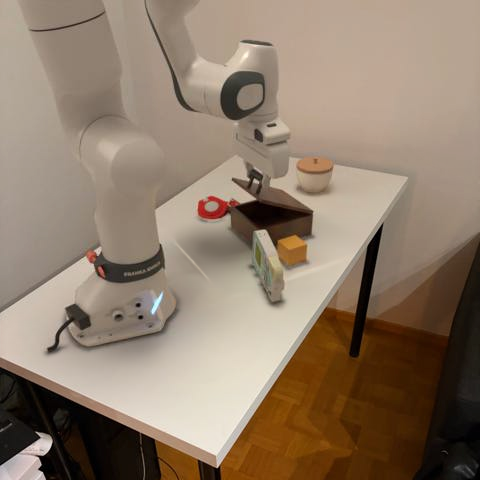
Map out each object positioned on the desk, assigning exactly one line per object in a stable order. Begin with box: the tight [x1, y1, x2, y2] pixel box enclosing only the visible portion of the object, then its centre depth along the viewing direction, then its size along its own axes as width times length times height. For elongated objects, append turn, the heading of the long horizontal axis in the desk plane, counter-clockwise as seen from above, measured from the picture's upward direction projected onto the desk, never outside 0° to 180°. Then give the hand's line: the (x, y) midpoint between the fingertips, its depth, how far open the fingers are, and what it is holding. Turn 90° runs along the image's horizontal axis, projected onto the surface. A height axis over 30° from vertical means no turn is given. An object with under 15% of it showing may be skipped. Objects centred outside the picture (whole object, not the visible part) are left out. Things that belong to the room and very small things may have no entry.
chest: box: [229, 198, 314, 247], centre depth 123 cm, size 16×15×6 cm
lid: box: [231, 168, 315, 215], centre depth 118 cm, size 16×15×5 cm
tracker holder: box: [197, 195, 242, 220], centre depth 134 cm, size 12×4×10 cm
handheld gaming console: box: [251, 230, 285, 303], centre depth 105 cm, size 11×3×15 cm
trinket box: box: [296, 156, 335, 194], centre depth 142 cm, size 11×11×9 cm
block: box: [276, 235, 308, 266], centre depth 113 cm, size 5×5×5 cm
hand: (258, 182), depth 115 cm, fingers closed on lid, 5 cm apart
